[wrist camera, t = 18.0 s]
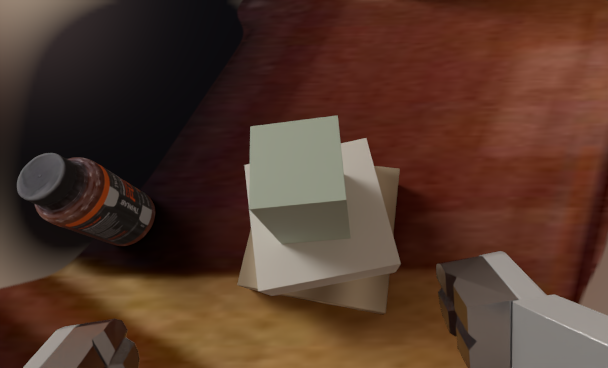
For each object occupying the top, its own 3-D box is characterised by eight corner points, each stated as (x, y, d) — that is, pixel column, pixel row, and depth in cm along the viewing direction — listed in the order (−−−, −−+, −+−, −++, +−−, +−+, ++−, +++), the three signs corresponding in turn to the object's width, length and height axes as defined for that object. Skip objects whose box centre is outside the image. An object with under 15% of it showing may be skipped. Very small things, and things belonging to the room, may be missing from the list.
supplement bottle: (169, 208, 36) (92, 160, 26) (133, 258, 35) (35, 228, 24) (130, 183, 38) (43, 130, 28) (94, 230, 37) (-12, 191, 26)
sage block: (281, 244, 25) (249, 209, 18) (280, 181, 27) (250, 126, 20) (350, 238, 25) (346, 199, 17) (343, 174, 27) (337, 115, 19)
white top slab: (271, 296, 28) (258, 291, 24) (257, 183, 32) (244, 165, 28) (395, 272, 27) (400, 263, 23) (365, 160, 31) (366, 138, 27)
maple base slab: (251, 289, 32) (237, 284, 29) (278, 172, 36) (269, 155, 33) (382, 314, 30) (385, 312, 26) (395, 185, 34) (399, 168, 30)
